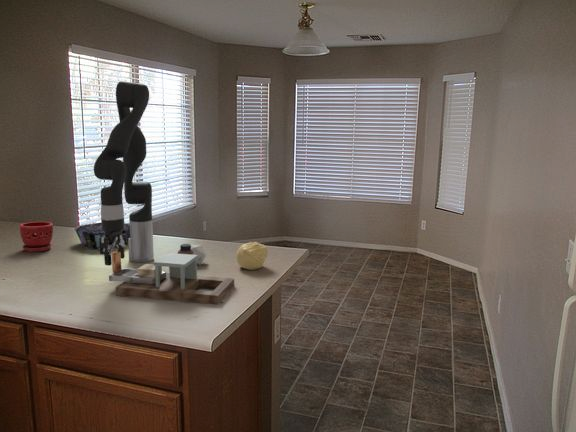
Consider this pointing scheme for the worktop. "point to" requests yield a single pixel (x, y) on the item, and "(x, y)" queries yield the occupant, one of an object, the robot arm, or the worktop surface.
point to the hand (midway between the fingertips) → (114, 261)
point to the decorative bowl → (94, 234)
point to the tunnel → (177, 267)
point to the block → (148, 270)
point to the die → (199, 253)
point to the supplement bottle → (185, 249)
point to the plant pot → (36, 236)
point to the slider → (129, 272)
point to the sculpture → (251, 255)
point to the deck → (170, 289)
